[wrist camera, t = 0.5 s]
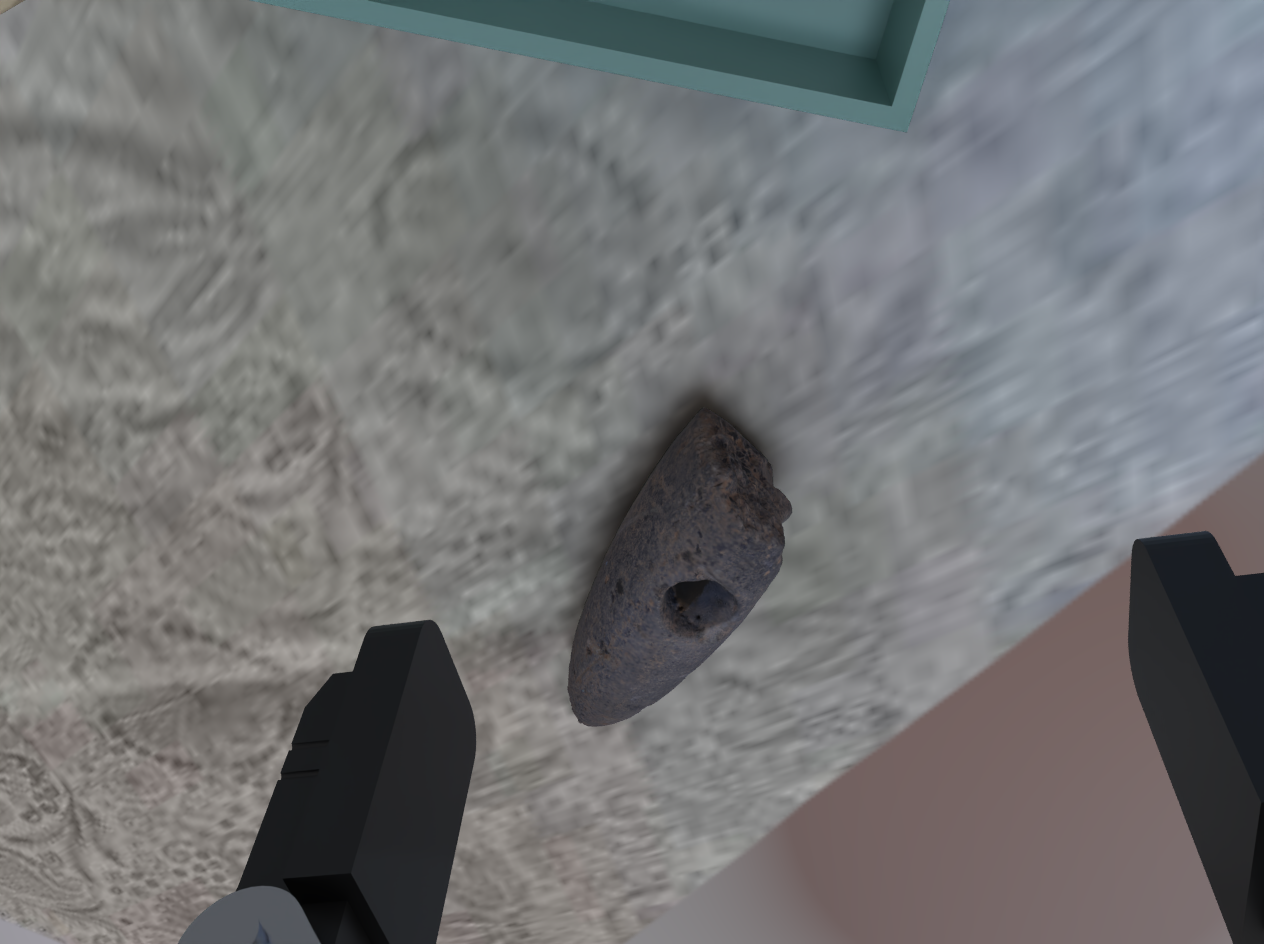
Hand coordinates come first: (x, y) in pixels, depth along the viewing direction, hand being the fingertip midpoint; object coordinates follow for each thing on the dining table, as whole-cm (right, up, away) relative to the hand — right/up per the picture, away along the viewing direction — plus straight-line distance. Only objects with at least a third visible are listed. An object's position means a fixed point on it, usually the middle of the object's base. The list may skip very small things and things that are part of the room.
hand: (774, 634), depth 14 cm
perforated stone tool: (0, 0, +34) cm, 34 cm away
